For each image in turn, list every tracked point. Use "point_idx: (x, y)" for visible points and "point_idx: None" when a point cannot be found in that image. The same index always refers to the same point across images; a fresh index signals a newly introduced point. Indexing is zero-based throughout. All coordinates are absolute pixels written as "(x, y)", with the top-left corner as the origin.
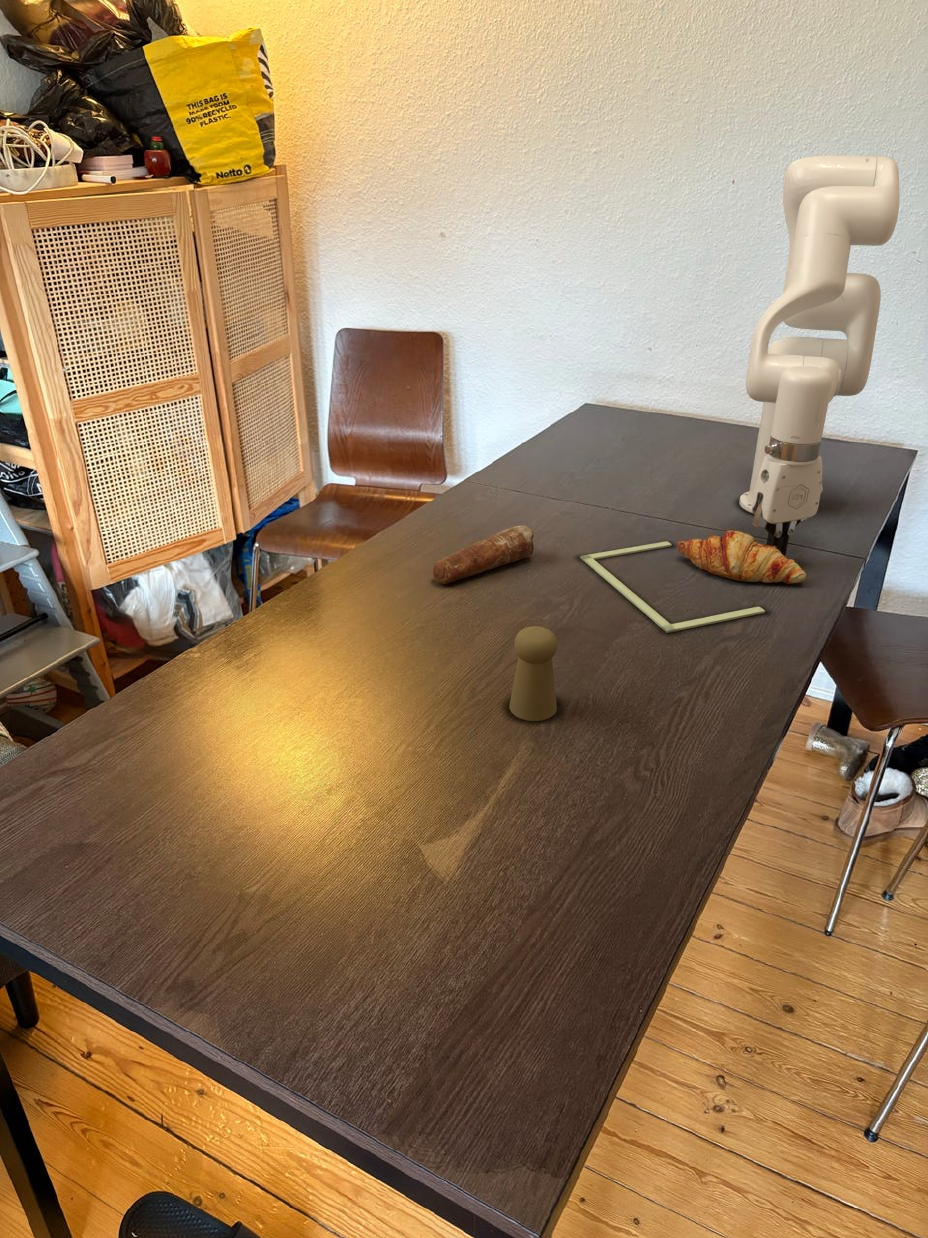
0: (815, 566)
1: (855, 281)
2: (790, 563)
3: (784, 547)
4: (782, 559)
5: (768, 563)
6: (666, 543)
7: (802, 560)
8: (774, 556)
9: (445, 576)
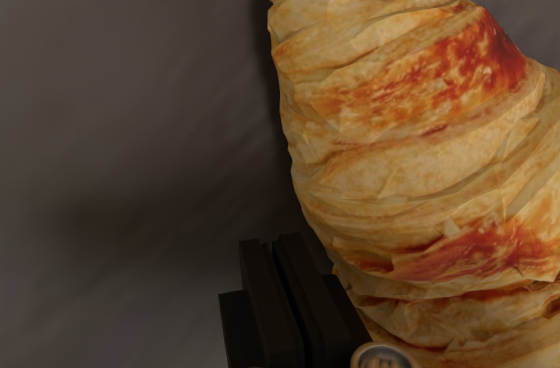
0: (15, 182)
1: None
2: (405, 37)
3: (275, 283)
4: (448, 93)
5: (536, 93)
6: None
7: (60, 266)
8: (497, 134)
9: None
